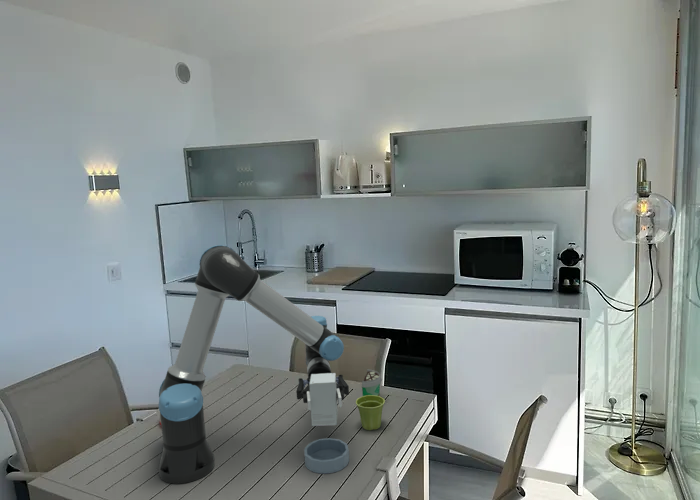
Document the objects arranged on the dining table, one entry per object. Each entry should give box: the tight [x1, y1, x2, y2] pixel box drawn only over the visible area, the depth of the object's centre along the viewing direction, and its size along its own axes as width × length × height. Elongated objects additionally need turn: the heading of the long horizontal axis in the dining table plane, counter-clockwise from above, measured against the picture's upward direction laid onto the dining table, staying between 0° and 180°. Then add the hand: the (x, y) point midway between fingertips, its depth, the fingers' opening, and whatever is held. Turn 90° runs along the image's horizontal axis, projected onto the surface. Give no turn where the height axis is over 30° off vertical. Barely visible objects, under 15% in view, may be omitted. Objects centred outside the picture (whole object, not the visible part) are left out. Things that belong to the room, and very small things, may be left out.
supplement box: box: [309, 372, 339, 427], centre depth 146 cm, size 7×7×13 cm
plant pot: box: [355, 395, 386, 431], centre depth 167 cm, size 9×9×9 cm
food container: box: [361, 368, 383, 396], centre depth 185 cm, size 12×6×10 cm, turn 168°
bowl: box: [303, 437, 350, 475], centre depth 148 cm, size 13×13×4 cm
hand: (324, 403), depth 141 cm, fingers closed on supplement box, 8 cm apart
